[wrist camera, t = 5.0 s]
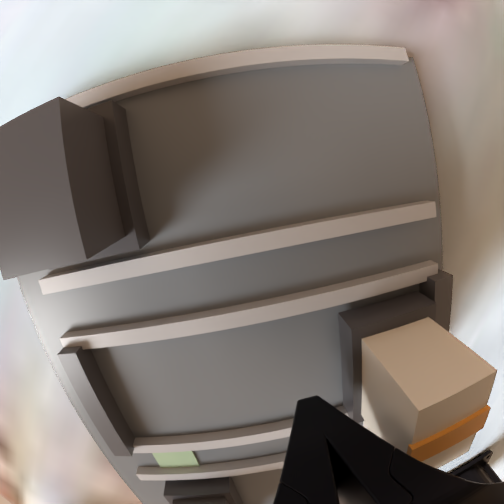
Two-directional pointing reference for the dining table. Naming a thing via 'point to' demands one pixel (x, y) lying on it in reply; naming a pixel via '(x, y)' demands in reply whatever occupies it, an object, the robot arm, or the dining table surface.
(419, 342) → the breaker
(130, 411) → the breaker panel
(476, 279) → the dining table surface
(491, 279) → the dining table surface
